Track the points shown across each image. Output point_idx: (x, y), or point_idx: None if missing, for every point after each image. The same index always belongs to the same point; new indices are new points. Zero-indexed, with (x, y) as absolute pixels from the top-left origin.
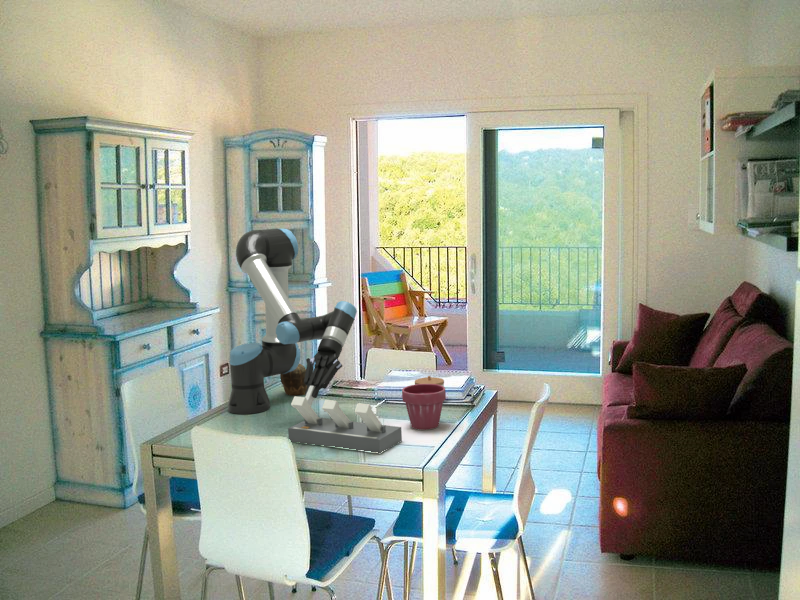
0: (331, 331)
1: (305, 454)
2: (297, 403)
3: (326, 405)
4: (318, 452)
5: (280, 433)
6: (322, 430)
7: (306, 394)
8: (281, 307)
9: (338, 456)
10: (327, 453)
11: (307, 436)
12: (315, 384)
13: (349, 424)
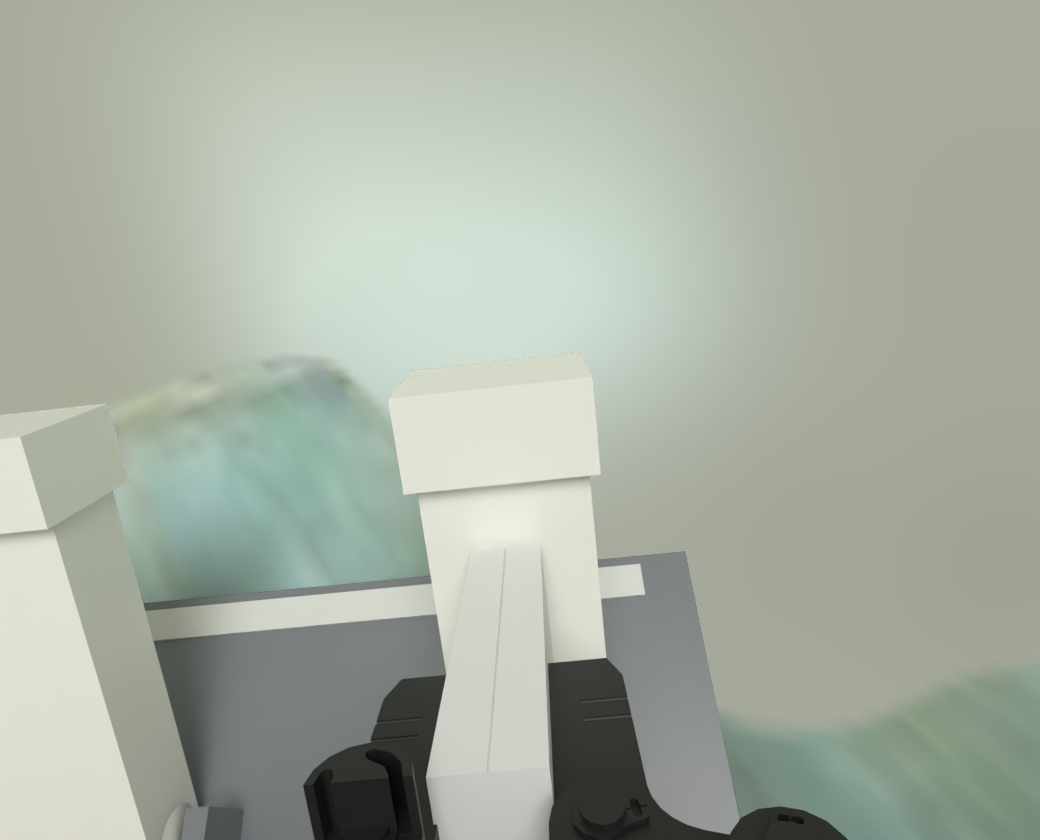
0: None
1: (368, 435)
2: (485, 366)
3: (29, 417)
4: (304, 504)
5: (963, 778)
6: (322, 641)
7: (540, 624)
8: None
9: (133, 501)
10: (232, 515)
11: None
12: (347, 757)
13: None
